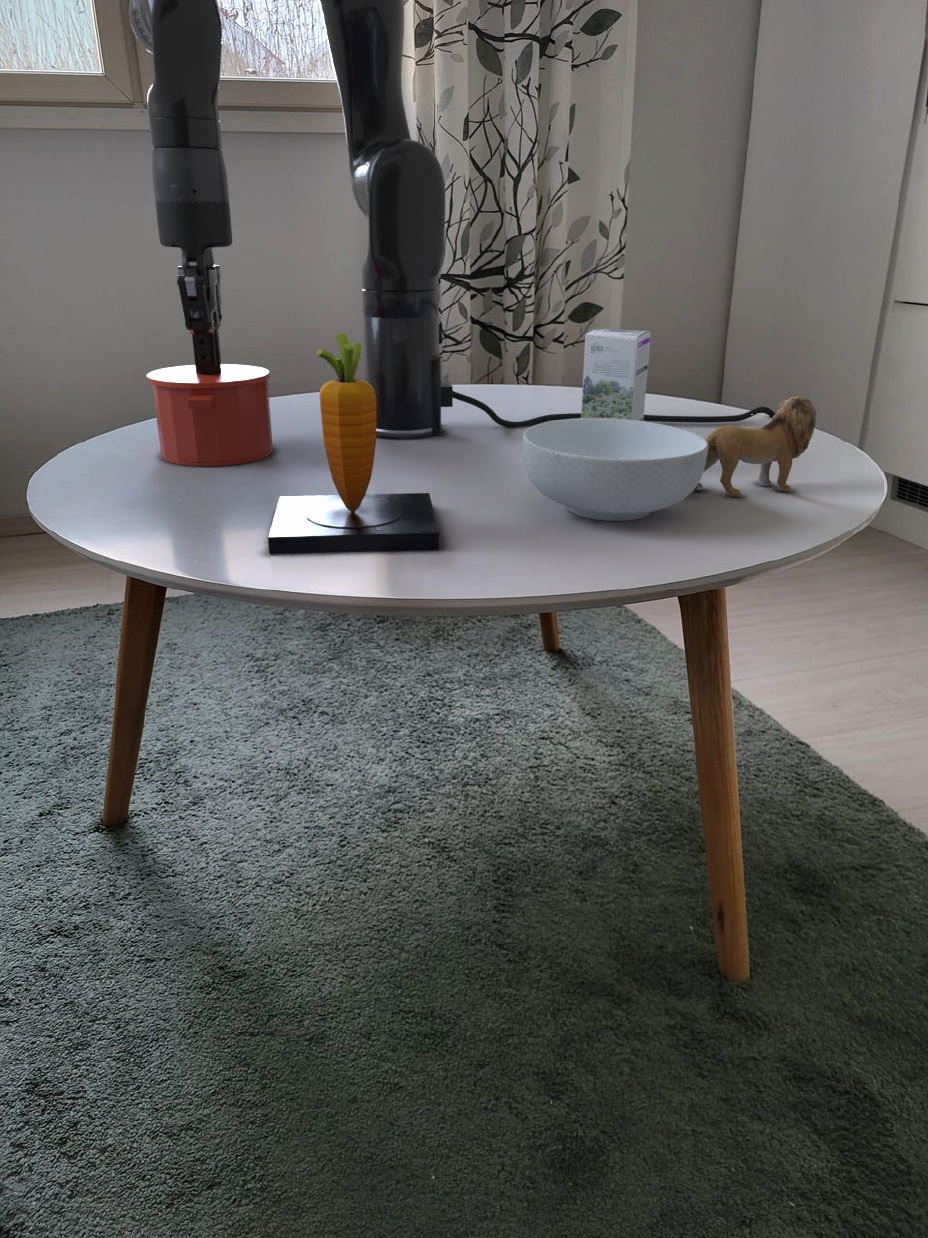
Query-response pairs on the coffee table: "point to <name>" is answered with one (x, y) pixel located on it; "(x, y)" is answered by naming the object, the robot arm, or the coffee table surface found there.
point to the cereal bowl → (613, 465)
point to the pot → (214, 424)
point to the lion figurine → (763, 444)
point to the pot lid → (208, 374)
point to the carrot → (348, 425)
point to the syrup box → (615, 374)
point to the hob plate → (353, 524)
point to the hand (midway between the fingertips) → (208, 366)
